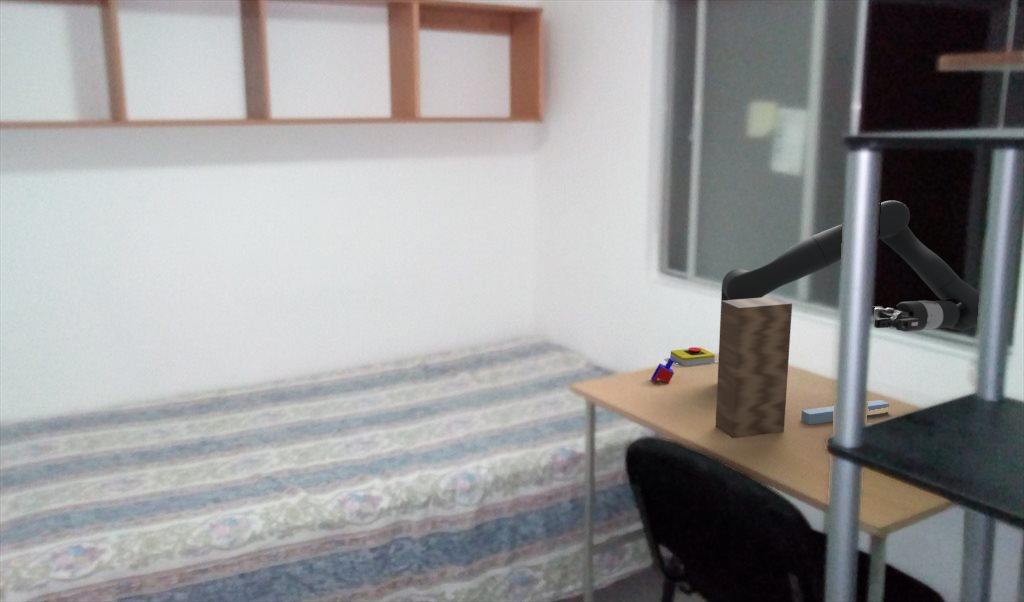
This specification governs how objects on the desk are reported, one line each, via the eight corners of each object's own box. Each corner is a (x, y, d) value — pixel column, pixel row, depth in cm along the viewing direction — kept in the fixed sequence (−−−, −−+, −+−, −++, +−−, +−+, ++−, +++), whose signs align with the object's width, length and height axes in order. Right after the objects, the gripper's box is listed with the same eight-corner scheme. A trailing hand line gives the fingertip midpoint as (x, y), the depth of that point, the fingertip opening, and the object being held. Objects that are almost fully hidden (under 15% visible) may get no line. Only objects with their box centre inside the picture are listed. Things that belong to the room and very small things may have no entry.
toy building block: (665, 388, 232) (678, 365, 231) (652, 382, 232) (666, 358, 231) (663, 384, 236) (677, 361, 234) (650, 378, 236) (664, 354, 234)
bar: (879, 410, 209) (880, 399, 209) (888, 414, 207) (889, 403, 206) (801, 421, 203) (801, 410, 202) (808, 425, 200) (809, 414, 199)
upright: (765, 420, 203) (772, 296, 196) (783, 431, 195) (792, 303, 188) (715, 426, 199) (721, 300, 192) (732, 438, 192) (738, 307, 185)
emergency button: (720, 350, 250) (677, 355, 246) (720, 364, 251) (677, 369, 247) (705, 343, 259) (663, 347, 255) (704, 356, 260) (662, 360, 256)
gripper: (899, 295, 209) (846, 298, 205) (941, 307, 196) (885, 311, 192) (896, 323, 211) (843, 326, 207) (937, 337, 198) (881, 341, 194)
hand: (863, 319), depth 199 cm, fingers open, 8 cm apart
